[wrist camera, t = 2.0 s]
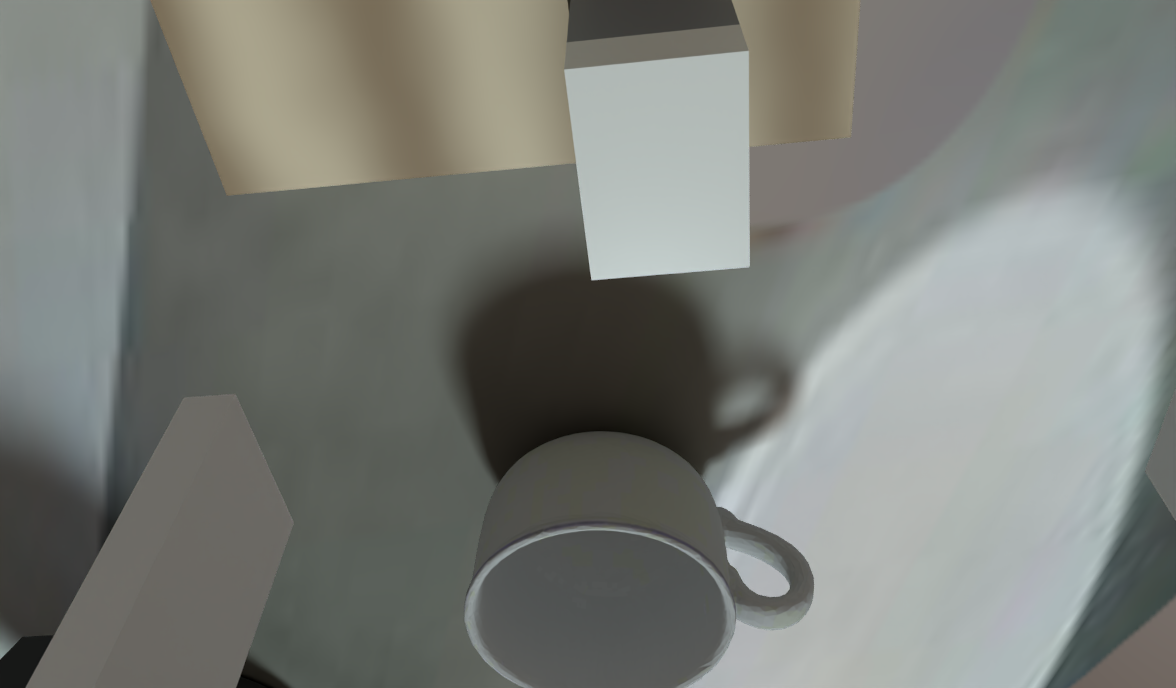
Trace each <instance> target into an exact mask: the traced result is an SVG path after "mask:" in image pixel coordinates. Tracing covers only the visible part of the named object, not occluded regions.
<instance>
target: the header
mask: <svg viewBox="0 0 1176 688" xmlns="http://www.w3.org/2000/svg"><path fill="white" fill-rule="evenodd" d="M151 3H152V5H153V8H154V11H155V13H156V16H157V18H158V21H159V23H160V26H161V28H162V31H163V34H164V36H165V39H166V41H167V44H168V46H169V49H170V51H171V54H172V56H173V59H174V62H175V64H176V67H177V69H178V72H179V74H180V77H181V79H182V82H183V85H184V87H185V90H186V92H187V95H188V97H189V100H190V102H191V105H192V107H193V110H194V113H195V115H196V118H197V120H198V123H199V125H200V128H201V130H202V133H203V136H204V138H205V141H206V143H207V146H208V148H209V151H210V153H211V156H212V159H213V161H214V164H215V166H216V169H217V171H218V174H219V176H220V179H221V181H222V184H223V187H224V189H225V192H226V194H227V196H228V195H239V194H250V193H260V192H271V191H282V190H292V189H303V188H314V187H324V186H335V185H346V184H357V183H367V182H378V181H389V180H399V179H410V178H421V177H432V176H442V175H453V174H464V173H474V172H485V171H496V170H507V169H517V168H528V167H539V166H549V165H560V164H571V163H576V158H575V150H574V142H573V134H572V127H571V119H570V111H569V103H568V96H567V88H566V80H565V73H564V65H565V54H566V43H567V32H568V21H569V10H570V0H151ZM732 3H733V6H734V9H735V12H736V14H737V17H738V20H739V23H740V26H741V29H742V32H743V35H744V38H745V41H746V44H747V47H748V50H749V147H752V146H764V145H774V144H785V143H795V142H806V141H817V140H827V139H839V138H848V137H851V127H852V114H853V99H854V83H855V70H856V55H857V41H858V26H859V11H860V0H732Z"/></svg>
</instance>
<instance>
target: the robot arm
mask: <svg viewBox="0 0 1176 688" xmlns="http://www.w3.org/2000/svg"><path fill="white" fill-rule="evenodd" d="M1145 472H1146V474H1147V476H1148V477H1149V479H1150V480H1151V482H1152V484H1153V485H1154V487H1155V488H1156V490H1157V492H1158V493H1159V495H1160V496H1161V498H1162V500H1163V501H1164V503H1165V504H1166V506H1167V508H1168V509H1169V511H1170V512H1171V514H1172V516H1173V517H1174V519H1175V520H1176V389H1175V391H1174V394H1173V397H1172V400H1171V402H1170V405H1169V408H1168V410H1167V413H1166V416H1165V418H1164V421H1163V424H1162V427H1161V429H1160V432H1159V435H1158V437H1157V440H1156V443H1155V446H1154V448H1153V451H1152V454H1151V456H1150V459H1149V462H1148V464H1147V467H1146V470H1145ZM293 523H294V522H293V520H292V518H291V515H290V513H289V511H288V509H287V507H286V504H285V502H284V500H283V498H282V496H281V493H280V491H279V489H278V487H277V485H276V482H275V480H274V478H273V476H272V474H271V471H270V469H269V467H268V465H267V463H266V460H265V458H264V456H263V454H262V452H261V449H260V447H259V445H258V443H257V441H256V438H255V436H254V434H253V432H252V430H251V427H250V425H249V423H248V421H247V419H246V416H245V414H244V412H243V410H242V407H241V405H240V403H239V401H238V399H237V396H236V394H227V395H213V396H199V397H185V398H183V400H182V402H181V404H180V406H179V407H178V409H177V411H176V413H175V415H174V417H173V418H172V420H171V422H170V424H169V426H168V428H167V429H166V431H165V433H164V435H163V437H162V439H161V440H160V442H159V444H158V446H157V448H156V450H155V451H154V453H153V455H152V457H151V459H150V461H149V462H148V464H147V466H146V468H145V470H144V472H143V473H142V475H141V477H140V479H139V481H138V482H137V484H136V486H135V488H134V490H133V492H132V493H131V495H130V497H129V499H128V501H127V503H126V504H125V506H124V508H123V510H122V512H121V514H120V515H119V517H118V519H117V521H116V523H115V525H114V526H113V528H112V530H111V532H110V534H109V536H108V537H107V539H106V541H105V543H104V545H103V547H102V548H101V550H100V552H99V554H98V556H97V558H96V559H95V561H94V563H93V565H92V567H91V569H90V570H89V572H88V574H87V576H86V578H85V580H84V581H83V583H82V585H81V587H80V589H79V591H78V592H77V594H76V596H75V598H74V600H73V602H72V603H71V605H70V607H69V609H68V611H67V613H66V614H65V616H64V618H63V620H62V622H61V624H60V625H59V627H58V629H57V631H56V633H55V635H53V636H34V637H22V638H21V639H20V640H19V641H18V642H17V643H16V644H15V645H14V646H13V647H12V648H11V649H10V650H9V651H8V652H7V653H6V654H5V655H4V656H3V657H2V658H1V659H0V688H267V687H265V686H263V685H261V684H258V683H256V682H253V681H251V680H248V679H245V678H242V677H240V675H241V672H242V669H243V666H244V664H245V661H246V658H247V655H248V652H249V649H250V646H251V644H252V641H253V638H254V635H255V632H256V629H257V626H258V624H259V621H260V618H261V615H262V612H263V609H264V606H265V603H266V601H267V598H268V595H269V592H270V589H271V586H272V583H273V581H274V578H275V575H276V572H277V569H278V566H279V563H280V561H281V558H282V555H283V552H284V549H285V546H286V543H287V540H288V538H289V535H290V532H291V529H292V526H293Z"/></svg>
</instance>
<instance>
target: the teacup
mask: <svg viewBox="0 0 1176 688" xmlns="http://www.w3.org/2000/svg"><path fill="white" fill-rule="evenodd" d="M726 548H730V549H733V550H736V551H740V552H743V553H745V554H748V555H751V556H753V557H755V558H757V559H760V560H762V561H763V562H765V563H767V564H769V565H770V566H772V567H773V568H775V569H776V570H778V571H779V572H780V573H781V574H782V575H783V576H784V577H785V578H786V580H787V581H788V583H789V585H790V590H789V591H788V592H787V593H786V594H785V595H782V596H780V597H766V596H762V595H758V594H756V593H754V592H753V591H751V590H750V589H749V588H748V587H747V586H746V585H745V584H744V583H743V581H742V580H741V578H740V576H739V574H738V572H737V570H736V569H735V568H734V567H732V566H731V565H730V564H729V562H728V560H727V553H726ZM813 593H814V578H813V574H812V572H811V569H810V567H809V564H808V562H807V561H806V559H805V558H804V556H803V555H802V554H801V553H800V552H799V551H798V550H797V549H796V548H795V547H794V546H793V545H792V544H790V543H788V542H787V541H785V540H784V539H782V538H780V537H779V536H777V535H775V534H773V533H771V532H768V531H766V530H764V529H762V528H759V527H757V526H754V525H751V524H748V523H746V522H743V521H740V520H738V519H737V518H736V517H735V516H734V515H733V514H732V513H731V512H730V511H728V510H726V509H724V508H722V507H716V504H715V501H714V499H713V497H712V495H711V492H710V490H709V488H708V487H707V485H706V484H705V482H704V480H703V479H702V477H701V476H700V475H699V474H698V472H697V471H696V470H695V469H694V468H693V467H692V466H691V465H690V464H689V463H688V462H687V461H686V460H684V459H683V458H682V457H681V456H679V455H678V454H676V453H675V452H673V451H672V450H670V449H669V448H667V447H665V446H662V445H660V444H658V443H656V442H654V441H652V440H649V439H646V438H643V437H640V436H636V435H631V434H627V433H622V432H610V431H592V432H583V433H576V434H572V435H568V436H563V437H560V438H557V439H554V440H552V441H549V442H547V443H545V444H543V445H541V446H539V447H537V448H535V449H534V450H532V451H530V452H528V453H527V454H526V455H524V456H523V457H522V458H520V459H519V460H518V461H517V462H516V463H515V464H514V465H513V466H512V467H511V468H510V469H509V470H508V471H507V473H506V474H505V475H504V477H503V478H502V479H501V481H500V482H499V484H498V485H497V487H496V489H495V491H494V493H493V495H492V497H491V499H490V502H489V505H488V508H487V511H486V514H485V517H484V521H483V525H482V530H481V534H480V539H479V544H478V549H477V554H476V560H475V566H474V572H473V578H472V581H471V583H470V586H469V588H468V591H467V594H466V599H465V607H464V622H465V624H466V628H467V632H468V635H469V637H470V640H471V642H472V644H473V646H474V647H475V648H476V650H477V651H478V652H479V654H480V655H481V657H482V658H483V660H484V661H485V662H487V663H488V664H489V665H490V666H491V667H492V668H493V669H495V670H496V671H497V672H498V673H499V674H501V675H502V676H504V677H505V678H506V679H508V680H510V681H512V682H514V683H515V684H517V685H519V686H522V687H524V688H686V687H688V686H690V685H691V684H693V683H695V682H696V681H698V680H699V679H701V678H702V677H703V676H704V675H705V674H707V673H708V672H709V671H711V670H712V669H713V667H714V666H715V665H716V664H717V663H718V662H719V660H720V659H721V658H722V656H723V655H724V653H725V651H726V650H727V648H728V646H729V644H730V641H731V639H732V637H733V634H734V630H735V624H736V619H737V620H739V621H741V622H743V623H745V624H748V625H750V626H753V627H756V628H759V629H766V630H780V629H785V628H787V627H790V626H792V625H794V624H796V623H798V622H799V621H800V620H801V619H802V618H803V617H804V616H805V615H806V613H807V611H808V610H809V608H810V606H811V604H812V599H813Z"/></svg>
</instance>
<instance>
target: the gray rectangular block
mask: <svg viewBox="0 0 1176 688" xmlns="http://www.w3.org/2000/svg"><path fill="white" fill-rule="evenodd" d="M564 73H565V80H566V88H567V96H568V103H569V111H570V119H571V127H572V134H573V142H574V150H575V158H576V165H577V173H578V181H579V189H580V196H581V204H582V212H583V220H584V227H585V235H586V243H587V250H588V258H589V266H590V274H591V280H602V279H614V278H626V277H638V276H650V275H662V274H674V273H686V272H698V271H710V270H722V269H733V268H745V267H750V233H749V50H748V47H747V44H746V41H745V38H744V35H743V32H742V29H741V26H740V23H739V20H738V17H737V14H736V12H735V9H734V6H733V3H732V0H570V10H569V21H568V32H567V43H566V54H565V65H564Z"/></svg>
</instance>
